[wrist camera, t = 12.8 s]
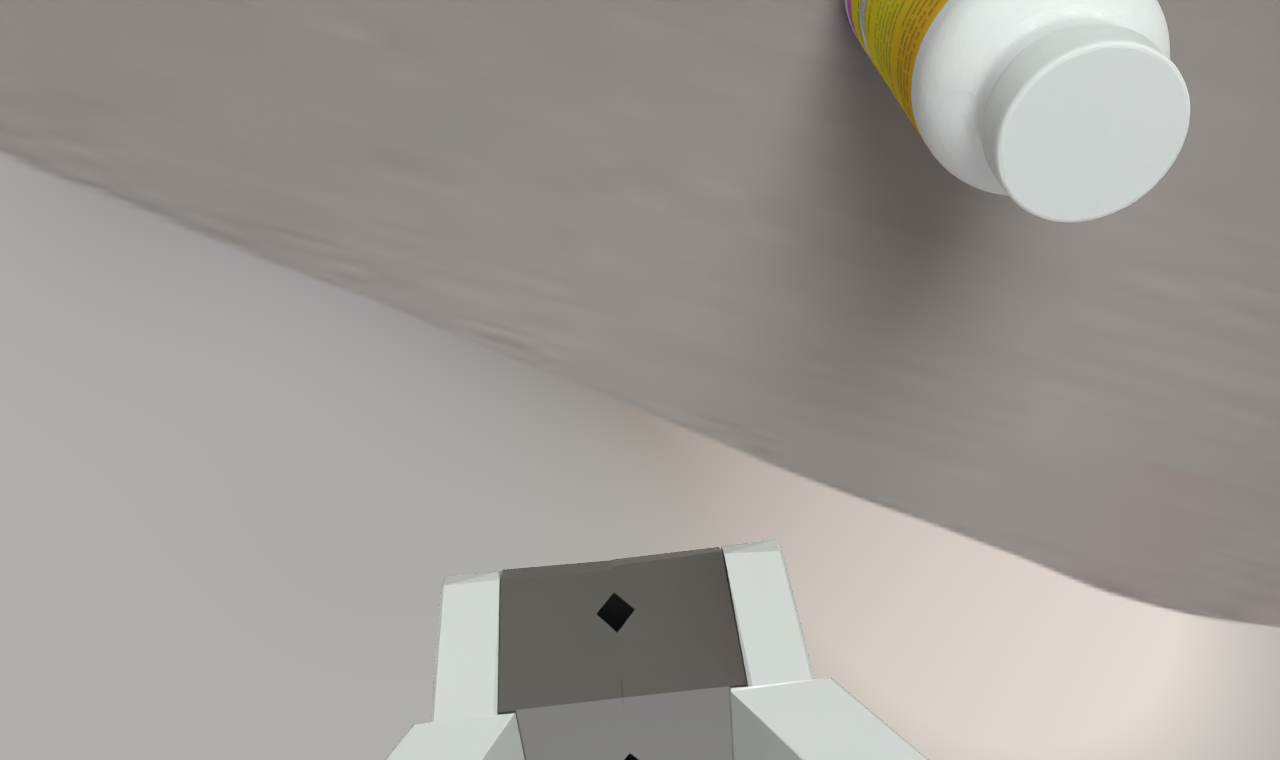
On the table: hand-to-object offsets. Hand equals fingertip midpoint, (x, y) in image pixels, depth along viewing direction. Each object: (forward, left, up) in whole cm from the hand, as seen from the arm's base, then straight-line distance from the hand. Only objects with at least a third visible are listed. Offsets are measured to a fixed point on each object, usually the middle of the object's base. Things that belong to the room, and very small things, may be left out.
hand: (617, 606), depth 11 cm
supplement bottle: (-5, +12, -31) cm, 34 cm away
